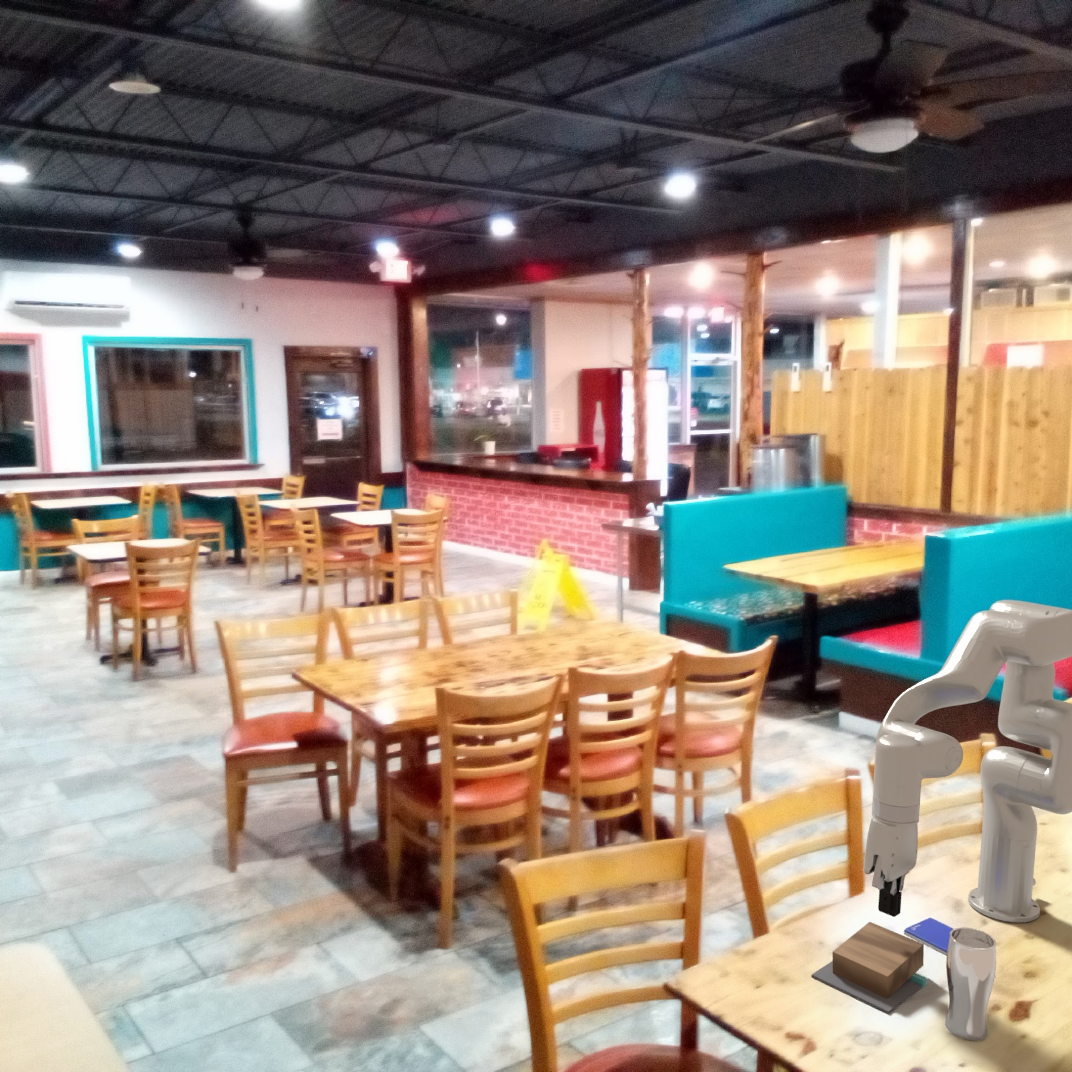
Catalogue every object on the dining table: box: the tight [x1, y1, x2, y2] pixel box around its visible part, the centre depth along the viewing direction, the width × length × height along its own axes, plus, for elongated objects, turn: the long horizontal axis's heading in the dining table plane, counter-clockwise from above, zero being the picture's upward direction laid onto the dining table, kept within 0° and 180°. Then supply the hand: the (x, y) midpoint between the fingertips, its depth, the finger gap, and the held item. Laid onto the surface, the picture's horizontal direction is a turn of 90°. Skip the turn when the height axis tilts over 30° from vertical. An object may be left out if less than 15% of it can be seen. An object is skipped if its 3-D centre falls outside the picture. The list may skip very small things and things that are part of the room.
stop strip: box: [908, 972, 928, 988], centre depth 173 cm, size 1×14×1 cm, turn 42°
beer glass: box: [944, 926, 997, 1042], centre depth 156 cm, size 7×7×15 cm
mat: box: [811, 960, 923, 1015], centre depth 169 cm, size 11×14×1 cm
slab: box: [832, 921, 925, 999], centre depth 171 cm, size 4×10×12 cm
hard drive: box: [903, 917, 954, 956], centre depth 182 cm, size 2×8×12 cm
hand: (889, 912), depth 172 cm, fingers closed
